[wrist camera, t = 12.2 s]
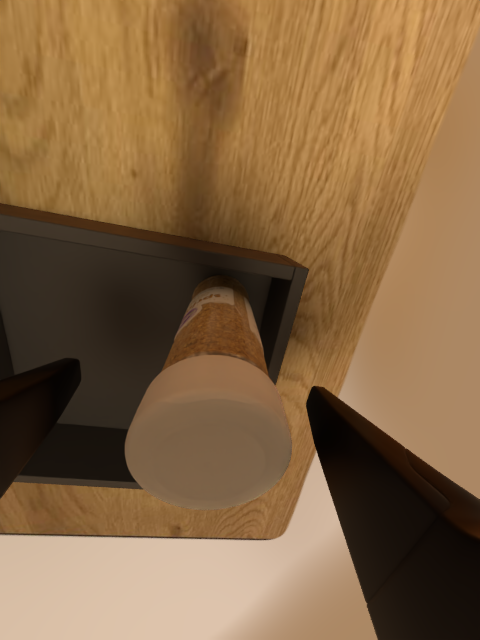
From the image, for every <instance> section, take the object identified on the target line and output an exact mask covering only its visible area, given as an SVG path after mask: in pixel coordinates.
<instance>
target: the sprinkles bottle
mask: <svg viewBox="0 0 480 640" xmlns="http://www.w3.org/2000/svg"><path fill="white" fill-rule="evenodd" d="M291 452H292V440H291V435H290V431H289V427H288V423H287V419H286V415H285V412H284V408H283V404H282V401H281V398H280V395H279V393H278V390H277V388H276V386H275V385H274V383H273V381H272V380H271V379H270V378H269V375H268V371H267V368H266V363H265V359H264V351H263V346H262V342H261V339H260V335H259V332H258V329H257V325H256V322H255V318H254V315H253V312H252V308H251V306H250V304H249V296H248V293H247V292H246V290H245V287H244V286H243V285H242V284H241V283H240V282H239V281H238V280H236V279H235V278H232V277H229V276H223V275H216V276H211V277H209V278H207V279H205V280H204V281H202V282H201V283H199V284H198V286H197V287H196V288H195V290H194V293H193V295H192V301H191V302H190V304H189V306H188V308H187V310H186V313H185V315H184V317H183V319H182V322H181V324H180V327H179V329H178V331H177V334H176V336H175V338H174V343H173V345H172V348H171V350H170V352H169V355H168V358H167V359H166V363H165V365H164V367H163V369H162V371H161V373H160V374H159V375H158V376H157V377H156V378H155V379H154V380H153V381H152V382H151V384H150V385H149V387H148V389H147V391H146V393H145V395H144V397H143V399H142V401H141V403H140V405H139V407H138V409H137V411H136V414H135V416H134V418H133V421H132V423H131V425H130V428H129V430H128V433H127V436H126V441H125V458H126V463H127V466H128V469H129V471H130V473H131V475H132V476H133V478H134V479H135V480H136V482H137V483H138V484H139V485H140V486H141V487H142V488H143V489H144V490H145V491H147V492H148V493H149V494H151V495H152V496H154V497H156V498H158V499H159V500H162V501H164V502H166V503H169V504H172V505H175V506H179V507H183V508H188V509H196V510H218V509H225V508H230V507H235V506H239V505H242V504H244V503H247V502H250V501H252V500H254V499H256V498H258V497H260V496H261V495H263V494H264V493H266V492H267V491H269V490H270V489H271V488H272V487H273V486H274V485H276V484H277V482H278V481H279V480H280V479H281V477H282V476H283V474H284V473H285V471H286V469H287V467H288V465H289V462H290V458H291Z"/></svg>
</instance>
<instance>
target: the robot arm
mask: <svg viewBox="0 0 480 640" xmlns="http://www.w3.org/2000/svg"><path fill="white" fill-rule="evenodd" d="M80 382H81V366H80V361H79V360H78V359H76V358H63V359H60V360H57V361H54V362H52V363H49V364H46V365H43V366H40V367H37V368H34V369H31V370H29V371H26V372H23V373H20V374H17V375H14V376H11V377H8V378H6V379H3V380H0V499H1V497H2V496H3V495H4V493H5V492H6V491H7V489H8V488H9V487H10V485H11V484H12V483H13V481H14V480H15V478H16V477H17V476H18V474H19V473H20V472H21V470H22V469H23V468H24V466H25V465H26V464H27V462H28V461H29V460H30V458H31V457H32V455H33V454H34V453H35V451H36V450H37V449H38V447H39V446H40V445H41V443H42V442H43V441H44V439H45V438H46V437H47V435H48V434H49V433H50V431H51V430H52V428H53V427H54V426H55V424H56V423H57V421H58V420H59V418H60V417H61V415H62V413H63V412H64V410H65V408H66V407H67V405H68V403H69V402H70V400H71V398H72V396H73V395H74V393H75V391H76V390H77V388H78V386H79V385H80ZM306 407H307V412H308V417H309V422H310V426H311V431H312V436H313V440H314V444H315V447H316V450H317V453H318V457H319V460H320V463H321V466H322V469H323V472H324V475H325V478H326V481H327V484H328V487H329V490H330V493H331V496H332V499H333V503H334V506H335V508H336V512H337V515H338V518H339V521H340V524H341V527H342V530H343V533H344V536H345V539H346V543H347V546H348V549H349V552H350V555H351V558H352V561H353V564H354V567H355V570H356V573H357V576H358V579H359V582H360V585H361V589H362V592H363V594H364V598H365V601H366V603H368V604H367V608H368V611H369V614H370V617H371V620H372V623H373V626H374V629H375V632H376V635H377V638H378V640H480V499H478V498H477V497H475V496H474V495H472V494H471V493H469V492H468V491H466V490H465V489H463V488H462V487H460V486H459V485H457V484H456V483H454V482H453V481H451V480H450V479H449V478H447V477H446V476H444V475H443V474H441V473H440V472H438V471H437V470H435V469H434V468H433V467H431V466H430V465H428V464H427V463H426V462H424V461H423V460H422V459H420V458H419V457H417V456H416V455H415V454H413V453H412V452H411V451H409V450H408V449H405V447H404V446H402V445H401V444H400V443H398V442H397V441H396V440H394V439H393V438H391V437H390V436H389V435H387V434H386V433H385V432H383V431H382V430H381V429H379V428H378V427H377V426H375V425H374V424H373V423H371V422H370V421H368V420H367V419H366V418H364V417H363V416H362V415H360V414H359V413H358V412H356V411H355V410H354V409H352V408H351V407H349V406H348V405H347V404H345V403H344V402H343V401H341V400H340V399H339V398H337V397H336V396H335V395H333V394H332V393H331V392H329V391H328V390H326V389H325V388H324V387H319V386H313V387H312V388H311V391H310V394H309V396H308V399H307V403H306Z"/></svg>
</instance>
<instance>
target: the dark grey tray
mask: <svg viewBox="0 0 480 640" xmlns="http://www.w3.org/2000/svg"><path fill="white" fill-rule="evenodd" d="M308 271H309V269H308V268H306V267H304V266H302V265H301V264H299V263H297V262H295V261H293V260H292V259H290V258H288V257H286V256H284V255H278V254H273V253H267V252H262V251H256V250H251V249H246V248H240V247H235V246H229V245H224V244H218V243H213V242H207V241H202V240H197V239H191V238H186V237H180V236H175V235H169V234H164V233H158V232H153V231H148V230H142V229H137V228H131V227H126V226H120V225H115V224H109V223H104V222H99V221H93V220H88V219H82V218H77V217H71V216H66V215H60V214H55V213H50V212H44V211H39V210H33V209H28V208H22V207H17V206H11V205H6V204H1V203H0V380H3V379H6V378H8V377H11V376H14V375H17V374H20V373H23V372H26V371H29V370H31V369H34V368H37V367H40V366H43V365H46V364H49V363H52V362H54V361H57V360H60V359H63V358H76V359H78V360H79V361H80V366H81V382H80V385H79V386H78V388H77V390H76V391H75V393H74V395H73V396H72V398H71V400H70V402H69V403H68V405H67V407H66V408H65V410H64V412H63V413H62V415H61V417H60V418H59V420H58V421H57V423H56V424H55V426H54V427H53V428H52V430H51V431H50V433H49V434H48V435H47V437H46V438H45V439H44V441H43V442H42V443H41V445H40V446H39V447H38V449H37V450H36V451H35V453H34V454H33V455H32V457H31V458H30V460H29V461H28V462H27V464H26V465H25V466H24V468H23V469H22V470H21V472H20V473H19V474H18V476H17V477H16V478H15V480H14V481H13V482H24V483H42V484H59V485H76V486H94V487H111V488H128V489H143V488H142V487H141V486H140V485H139V484H138V483H137V482H136V480H135V479H134V478H133V476H132V475H131V473H130V471H129V469H128V466H127V463H126V458H125V441H126V436H127V433H128V430H129V428H130V425H131V423H132V421H133V418H134V416H135V414H136V411H137V409H138V407H139V405H140V403H141V401H142V399H143V397H144V395H145V393H146V391H147V389H148V387H149V385H150V384H151V382H152V381H153V380H154V379H155V378H156V377H157V376H158V375H159V374H160V373H161V371H162V369H163V367H164V365H165V363H166V359H167V358H168V355H169V352H170V350H171V348H172V345H173V343H174V338H175V336H176V334H177V331H178V329H179V327H180V324H181V322H182V319H183V317H184V315H185V313H186V310H187V308H188V306H189V304H190V302H191V301H192V295H193V293H194V290H195V288H196V287H197V286H198V284H199V283H201V282H202V281H204V280H205V279H207V278H209V277H211V276H216V275H223V276H229V277H232V278H235V279H236V280H238V281H239V282H240V283H241V284H242V285H243V286H244V287H245V290H246V292H247V293H248V296H249V304H250V306H251V308H252V312H253V315H254V318H255V322H256V325H257V329H258V332H259V335H260V339H261V342H262V346H263V351H264V359H265V363H266V368H267V371H268V375H269V378H270V379H271V380H272V381H273V383H274V385H276V382H277V378H278V375H279V371H280V368H281V364H282V361H283V358H284V354H285V351H286V347H287V344H288V340H289V337H290V333H291V330H292V326H293V323H294V320H295V316H296V313H297V309H298V306H299V302H300V299H301V295H302V292H303V288H304V285H305V282H306V278H307V275H308Z"/></svg>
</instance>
